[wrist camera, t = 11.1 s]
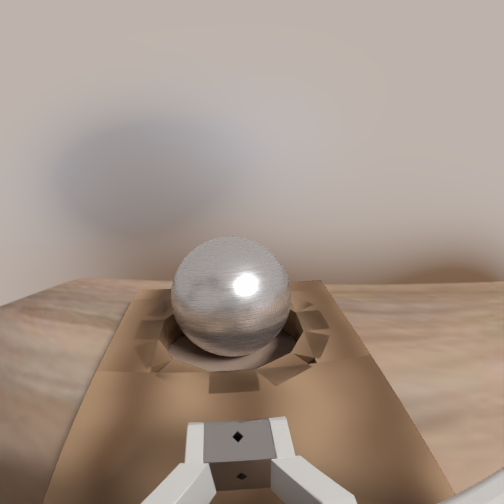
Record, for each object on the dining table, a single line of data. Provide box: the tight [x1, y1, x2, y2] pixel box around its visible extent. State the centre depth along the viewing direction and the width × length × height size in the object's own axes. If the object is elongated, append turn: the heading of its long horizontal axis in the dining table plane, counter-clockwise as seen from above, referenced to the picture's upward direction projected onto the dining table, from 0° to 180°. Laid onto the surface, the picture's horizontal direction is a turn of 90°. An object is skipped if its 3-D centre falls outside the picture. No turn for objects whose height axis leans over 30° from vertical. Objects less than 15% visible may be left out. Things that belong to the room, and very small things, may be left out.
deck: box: [43, 280, 455, 504], centre depth 19 cm, size 18×25×2 cm
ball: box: [171, 236, 291, 357], centre depth 24 cm, size 9×9×9 cm
